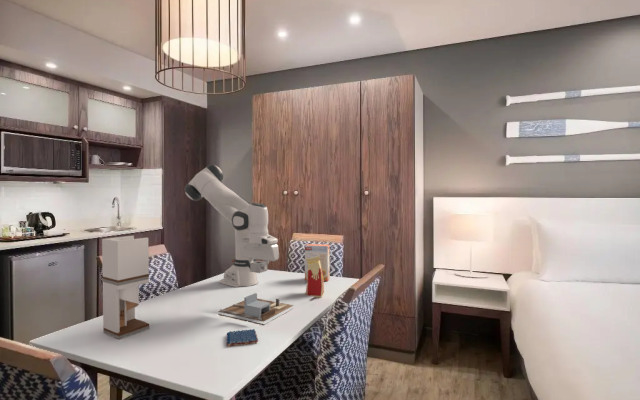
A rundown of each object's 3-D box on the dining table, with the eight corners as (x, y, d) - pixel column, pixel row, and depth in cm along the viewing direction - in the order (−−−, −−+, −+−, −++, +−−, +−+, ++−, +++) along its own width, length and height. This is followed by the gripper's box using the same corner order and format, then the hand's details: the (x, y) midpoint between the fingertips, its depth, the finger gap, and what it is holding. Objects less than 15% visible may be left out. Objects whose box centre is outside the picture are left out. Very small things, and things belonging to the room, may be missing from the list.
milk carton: (324, 292, 182) (324, 254, 182) (322, 297, 173) (322, 257, 172) (306, 291, 183) (306, 253, 182) (304, 297, 174) (304, 257, 173)
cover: (244, 314, 144) (244, 297, 144) (255, 309, 150) (255, 293, 150) (259, 318, 140) (259, 300, 140) (270, 312, 146) (270, 295, 146)
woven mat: (258, 345, 121) (258, 339, 121) (226, 348, 118) (226, 342, 118) (255, 333, 131) (255, 327, 131) (226, 336, 128) (226, 330, 128)
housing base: (218, 314, 149) (218, 304, 148) (251, 300, 168) (251, 291, 168) (263, 325, 137) (263, 313, 137) (293, 308, 157) (293, 298, 157)
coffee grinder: (118, 339, 124) (117, 241, 123) (103, 332, 129) (102, 239, 128) (149, 328, 133) (148, 237, 132) (133, 323, 139) (132, 235, 138)
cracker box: (329, 279, 209) (329, 244, 209) (327, 281, 203) (327, 245, 203) (307, 277, 212) (307, 243, 212) (304, 280, 207) (304, 244, 206)
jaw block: (250, 271, 159) (250, 262, 158) (258, 269, 163) (257, 260, 163) (259, 273, 156) (259, 264, 156) (267, 270, 161) (267, 262, 160)
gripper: (236, 238, 161) (236, 267, 162) (272, 241, 151) (272, 272, 152) (245, 236, 167) (246, 265, 167) (280, 239, 157) (280, 269, 157)
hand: (258, 268), depth 159 cm, fingers closed on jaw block, 5 cm apart
